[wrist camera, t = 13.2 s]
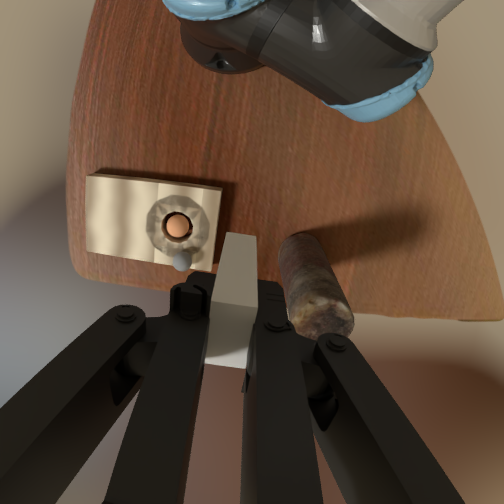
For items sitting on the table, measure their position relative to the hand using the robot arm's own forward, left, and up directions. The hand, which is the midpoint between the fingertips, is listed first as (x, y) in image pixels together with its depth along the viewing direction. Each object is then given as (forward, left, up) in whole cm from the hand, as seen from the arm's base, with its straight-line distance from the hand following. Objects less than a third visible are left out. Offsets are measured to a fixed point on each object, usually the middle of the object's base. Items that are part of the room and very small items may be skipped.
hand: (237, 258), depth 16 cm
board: (-2, -17, -32) cm, 37 cm away
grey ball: (+6, -15, -28) cm, 33 cm away
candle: (+16, 0, -33) cm, 36 cm away
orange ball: (+1, -13, -31) cm, 34 cm away
